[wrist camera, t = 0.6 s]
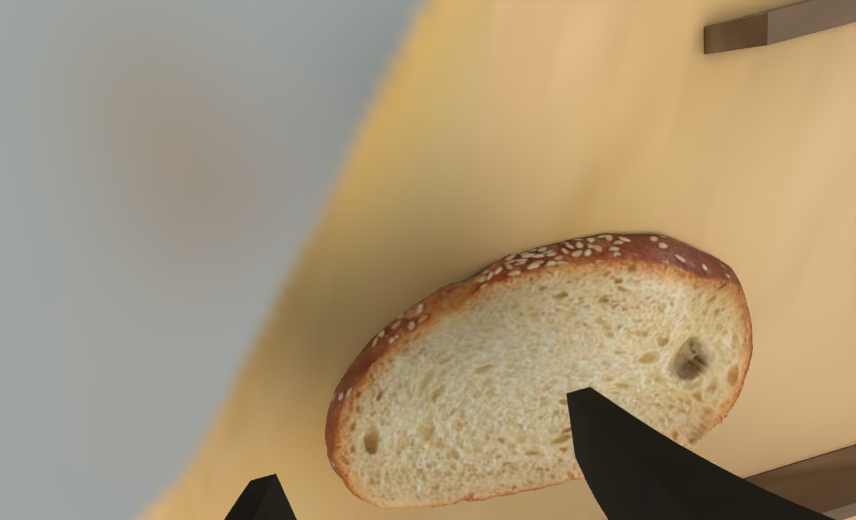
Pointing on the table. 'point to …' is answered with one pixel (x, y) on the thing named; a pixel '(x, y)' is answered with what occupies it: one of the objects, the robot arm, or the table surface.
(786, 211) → the table surface
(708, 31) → the frame
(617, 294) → the bread slice
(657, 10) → the table surface
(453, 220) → the table surface
